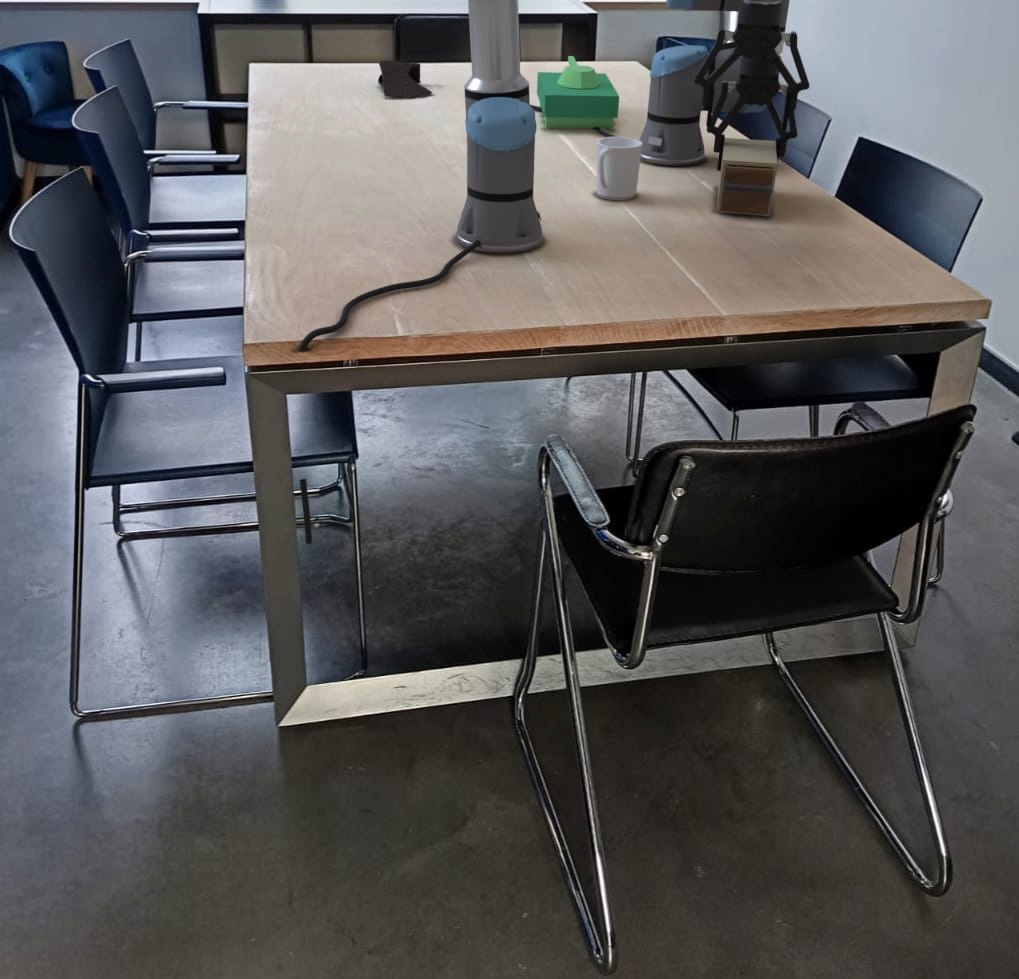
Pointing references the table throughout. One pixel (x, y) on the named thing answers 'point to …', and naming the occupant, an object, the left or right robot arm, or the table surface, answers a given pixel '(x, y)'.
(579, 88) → the toy tank
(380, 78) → the axe head
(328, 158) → the table surface
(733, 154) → the cabinet
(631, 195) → the mug
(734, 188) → the drawer
